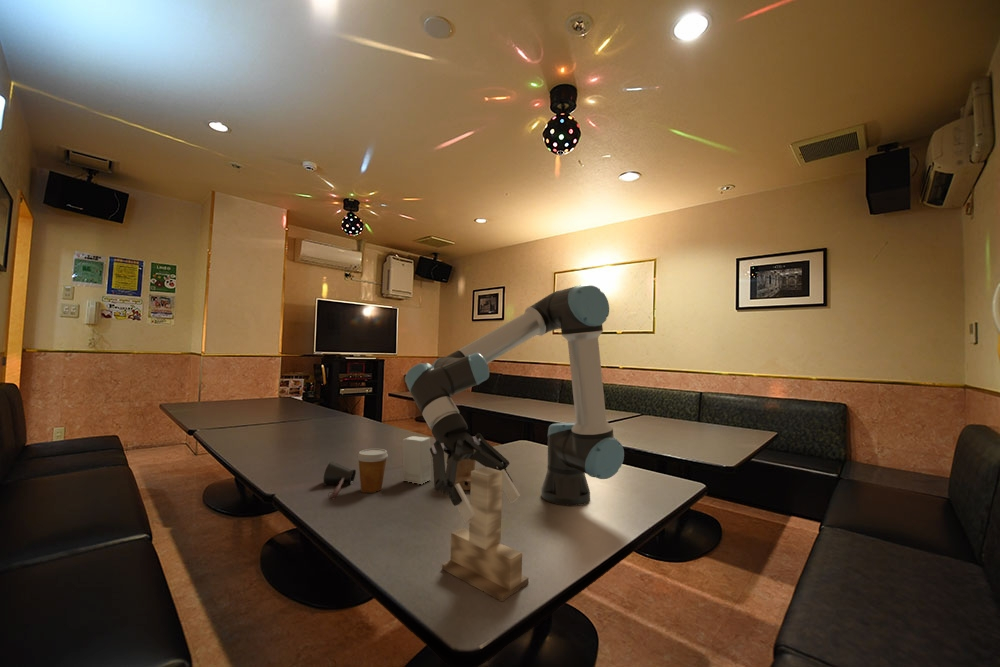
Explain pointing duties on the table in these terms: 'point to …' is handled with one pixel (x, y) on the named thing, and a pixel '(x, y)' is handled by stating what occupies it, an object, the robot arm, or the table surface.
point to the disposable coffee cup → (372, 469)
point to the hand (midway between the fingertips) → (494, 508)
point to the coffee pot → (338, 476)
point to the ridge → (486, 566)
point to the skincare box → (417, 459)
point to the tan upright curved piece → (465, 473)
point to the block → (485, 507)
